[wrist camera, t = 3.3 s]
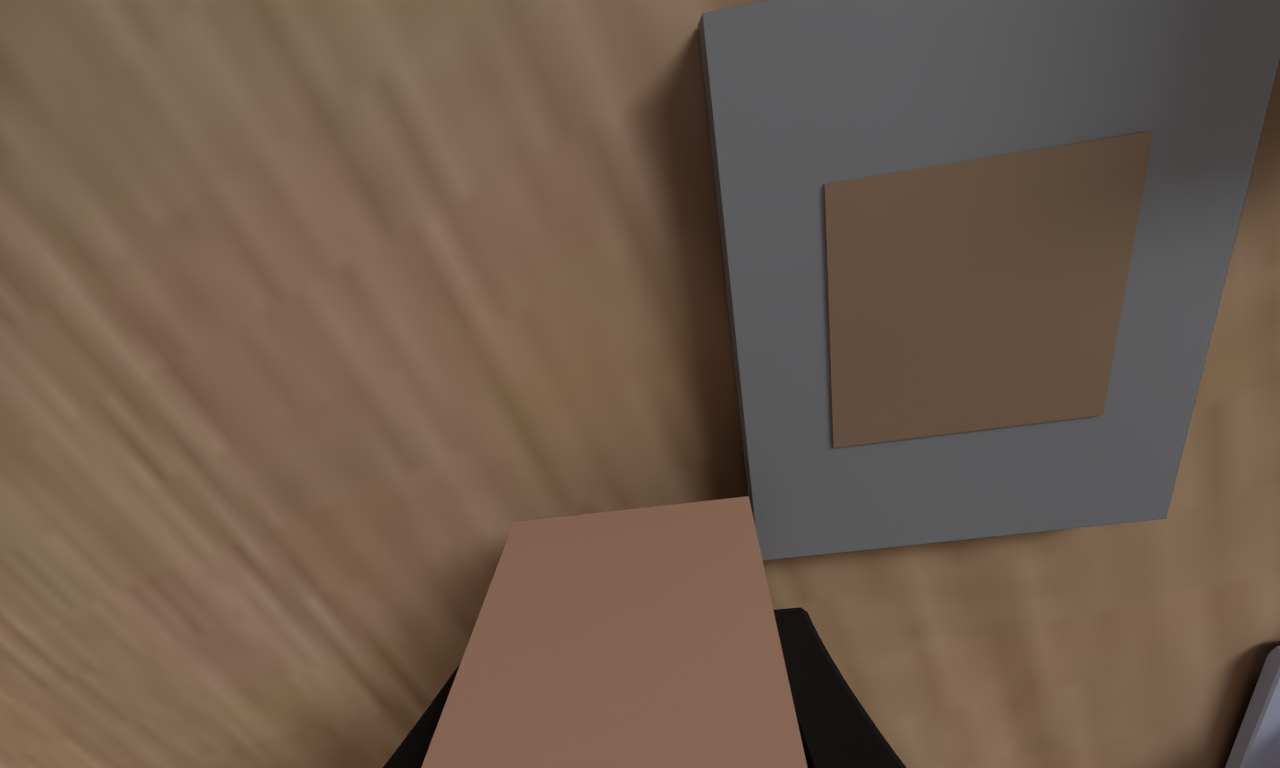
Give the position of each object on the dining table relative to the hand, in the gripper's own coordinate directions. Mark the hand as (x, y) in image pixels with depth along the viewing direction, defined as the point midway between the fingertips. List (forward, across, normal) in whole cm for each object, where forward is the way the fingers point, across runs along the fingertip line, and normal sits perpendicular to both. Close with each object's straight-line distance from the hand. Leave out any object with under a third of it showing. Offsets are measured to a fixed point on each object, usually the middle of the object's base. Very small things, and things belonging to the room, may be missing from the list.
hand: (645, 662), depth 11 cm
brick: (+2, 0, 0) cm, 2 cm away
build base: (+3, -6, -5) cm, 9 cm away
